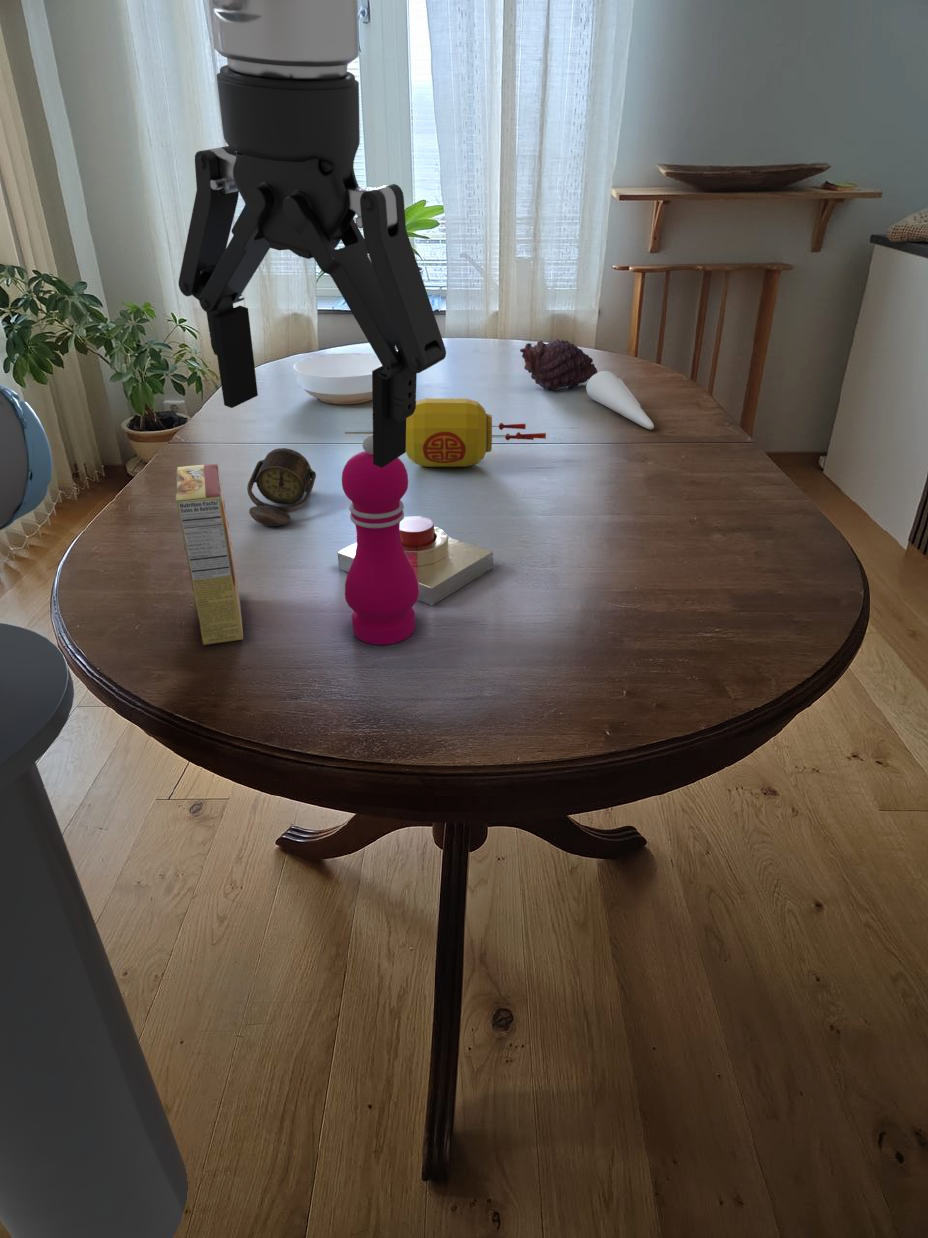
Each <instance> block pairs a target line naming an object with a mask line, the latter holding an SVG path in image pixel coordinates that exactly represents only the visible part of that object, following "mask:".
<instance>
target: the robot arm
mask: <svg viewBox="0 0 928 1238" xmlns="http://www.w3.org/2000/svg"><path fill="white" fill-rule="evenodd" d="M358 6H359V5H358V0H208V8H209V17H210V25H211V33H212V42H213V49H214V50H215V51H216V52H218V54H220V55H221V57H224V58H226V62H227V64H226V65H223V66H221V67H220V68H219V72H218V73H217V74H216V82H217V92H218V100H219V110H220V118H221V127H222V135H223V139H224V141H225V143H226V144H227V145H226V146H220V147H215V148H210V149H209V148H208V149H204V150H199V151H197V152H195V155H194V169H195V182H196V183H195V184H196V185H195V186H196V192H195V197H194V201H193V206H192V212H191V217H190V223H189V227H188V232H187V237H186V242H185V247H184V252H183V258H182V263H181V268H180V273H179V277H178V288H179V291H180V292H181V294H182V295H183V296H185V297H191V296H193V297H194V298H195V300H198V303H199V305H200V308H201V309H202V311H204V312H205V313H206V318H207V319H206V320H207V326H208V332H209V339H210V345H211V350H212V351H213V354H214V355H215V356H216V357H217V364H218V372H219V378H220V385H221V391H222V400H223V406H226V407H228V408H231V409H234V408H235V407H237V406H239V405H241V404H244V403H246V402H248V401H249V400H252V399H254V398H257V397H258V396H259V393H258V386H257V385H258V384H257V383H258V382H257V376H256V366H255V358H254V357H255V356H254V348H253V341H252V340H253V339H252V332H251V323H250V314H249V308H248V307H246V306H242V305H238V306H234V305H235V304H237V303H239V302H242V301H244V300H245V297H242V296H243V295H242V294H243V292H244V291H245V290H246V288H247V286H248V285H249V283H250V281H251V280H252V278H253V276H254V275H255V273H256V272H257V270H258V268H259V267H260V265H261V263H262V261H263V260H264V259H265V257H266V256H267V253H268V252H269V251H270V249H273V250H276V251H290V252H292V253H293V254H295V255H297V256H298V257H301V258H303V259H308V260H312V259H313V260H314V261H315V263H316V264H317V266H318V268H319V269H320V270H321V271H322V272H323V273H324V274H327V275H329V276H330V277H331V279H332V280H333V283H334V284H335V286H336V288H337V289H338V291H339V293H340V294H341V297H342V298H343V300H344V302H345V303H346V305H347V307H348V308H349V310H350V312H351V314H352V316H353V318H354V319H355V321H356V323H357V324H358V326H359V327H360V329H361V331H362V333H363V335H364V336H365V338H366V340H367V342H368V343H369V345H370V346H371V349H372V350H373V352H374V354H376V355H377V357H378V359H379V361H380V362H381V364H382V366H381V367H379V368H377V369H375V370H373V371H372V400H371V401H372V402H371V403H372V404H371V405H372V432H373V434H372V435H373V464H374V465H376V466H379V467H381V468H383V467H384V466H386V465H387V464H389V463H390V462H392V461H393V460H395V459H396V458H399V457H401V456H402V455H404V454H405V453H406V418H408V417H410V416H411V415H413V413H414V411H415V409H416V401H417V376H418V375H417V374H420V373H422V372H424V371H426V370H428V369H430V368H431V367H433V366H435V365H437V364H438V363H440V362H441V361H443V360H445V359H446V356H447V348H446V345H445V342H444V341H443V337H442V334H441V331H440V328H439V324H438V322H437V319H436V315H435V313H434V310H433V307H432V303H431V301H430V298H429V294H428V292H427V291H428V290H427V289H426V286H425V283H424V279H423V276H422V273H421V270H420V267H419V264H418V262H417V259H416V255H415V253H414V249H413V246H412V243H411V241H410V237H409V234H408V231H407V225H406V224H407V223H406V211H405V209H406V207H405V196H404V192H403V190H402V188H401V187H400V186H399V185H398V184H396V183H392V184H387V185H383V186H380V187H377V188H376V187H363V186H359V183H358V180H357V177H356V173H355V167H354V165H355V158H356V155H357V152H358V149H359V147H360V145H361V143H360V142H361V128H360V127H361V123H360V87H359V86H360V81H358V80H357V79H356V75H354V74H353V73H352V72H350V71H348V66H349V65H351V64H353V63H355V62H356V61H357V59H358V58H359V57H360V41H359V8H358ZM239 195H240V197H241V198H242V200H243V202H244V206H243V208H242V209H241V212H240V214H239V215H238V218H237V219H236V221H235V222H234V225H233V221H234V218H235V214H236V210H237V206H238V201H239ZM355 216H357V217H356V218H355ZM354 218H355V219H354ZM360 229H361V230H362V232H363V233H362V232H361V230H360ZM231 233H232V235H233V236H232V237H231V239H229V238H230V235H231ZM229 240H230V241H229ZM340 242H342V244H343V246H344V247H340V248H337V247H338V246H339V244H340ZM50 446H51V445H50V441H49V439H48V436H47V433H46V431H45V429H44V427H43V425H42V422H41V420H40V419H39V417H38V415H37V414H36V412H35V411H34V409H33V408H32V407H31V406H30V404H29V403H28V402H27V401H25V400H23V401H22V400H21V401H20V396H19V394H18V393H17V392H15V391H14V390H12V389H11V388H9V387H7V386H5V385H2V384H0V531H2V530H4V529H6V528H8V527H9V526H11V525H12V524H13V523H14V522H15V521H17V520H19V519H20V518H22V517H24V516H26V515H27V514H29V513H32V512H33V511H34V510H35V509H37V508H38V507H39V505H41V504H42V502H43V501H44V500H45V498H46V496H47V494H48V490H49V485H50V483H51V482H52V477H53V457H52V456H53V455H52V450H51V447H50Z"/></svg>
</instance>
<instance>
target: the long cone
mask: <svg viewBox="0 0 928 1238" xmlns="http://www.w3.org/2000/svg"><path fill="white" fill-rule="evenodd" d="M585 388H586V389H585V390H586V393H587V395H588V397H589V398H590V399H592V400H593V401H595V402H597V403H599V404H601V405H603V406H604V407H606V408H608V409H610V410H612V411H613V412H614V413H617V414H619V415H621V416H622V417H624V418H626V419H628V420H630V421H631V422H633V423H635V424H637V425H638V426H641V427H643V428H645V429H647V430H650V431H653V430H654V428H655V425H654V423H653V421H652V420H651V419H650V417H649V416H648V415H647V414H646V413H645V411H644V410H643V409H642V406H641V404H640V403H639V401H638V400H637V399H636V397H635V396H634V395H633V393H632V392H631V391H630V389H629V388H628V387H627V386H626V384H625V382H624V381H623V380H622V378H619V377H618V376H617V375H615V374H614V373H613V372H611V371H609V370H608V371H607V370H603V371H597V373H596V374H594V375H593V376H592V377H591V378H590V379H588V380H587V382H586V387H585Z"/></svg>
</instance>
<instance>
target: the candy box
mask: <svg viewBox="0 0 928 1238" xmlns="http://www.w3.org/2000/svg"><path fill="white" fill-rule="evenodd" d="M175 504H176V508H177V513H178V518H179V519H178V520H179V524H180V529H181V534H182V540H183V544H184V545H183V547H184V551H185V556H186V561H187V566H188V572H189V577H190V582H191V588H192V594H193V598H194V604H195V609H196V614H197V620H198V624H199V625H198V626H199V630H200V635H201V640H202V641H201V642H202V644H203V646H209V645H215V644H221V643H228V642H234V641H242V640H244V632H243V629H244V628H243V618H242V607H241V599H240V592H239V591H240V590H239V583H238V577H237V570H236V565H235V556H234V551H233V544H232V537H231V532H230V525H229V520H228V514H227V508H226V502H225V497H224V490H223V486H222V481H221V474H220V467H219V464H217V463H211V464H197V465H185V466H184V465H183V466H178V467H176V471H175Z"/></svg>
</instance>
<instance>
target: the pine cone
mask: <svg viewBox="0 0 928 1238" xmlns="http://www.w3.org/2000/svg"><path fill="white" fill-rule="evenodd" d="M519 352H520V353H522V354H521V358H523V359H524V367H523V368H524V370H526V371H527V372H528V374H530V378H531V379H532V380H534V382H535V384H536V385H539V386H540V387H541V388H545V389H546V390H547V391H549V390H552V389H553V390H554V391H557V390H559V389H560V388H564V389H565V388H567V387H568V388H569V387H577V386H578V385H579V384H585V383H587V382H588V381H589V379H590V378H591V377H592V376H593V375H594V374H596V373H598V370H597V367H596V366H595V364H594V363H593V361H594V359H593V358H592V357H590V356H589V355H588V354H586V353H585V352H584V351H583V349H581V348H579V347H578V346H577V345H575V344H574V343H572V342H571V343H570V341H568V340H564V339H562V340H560V339H556V340H553V341H549V342H548V343H545V342H543V340H539V341H537V342H536V344H535V345H534V346H532V343H526V344H525V345H524V347H523V348H520V349H519Z"/></svg>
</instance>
